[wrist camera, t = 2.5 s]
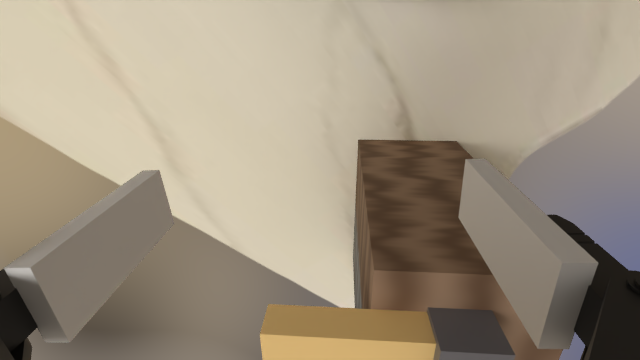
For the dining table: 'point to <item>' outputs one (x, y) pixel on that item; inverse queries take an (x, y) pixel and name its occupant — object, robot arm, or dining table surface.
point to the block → (381, 334)
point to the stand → (423, 238)
